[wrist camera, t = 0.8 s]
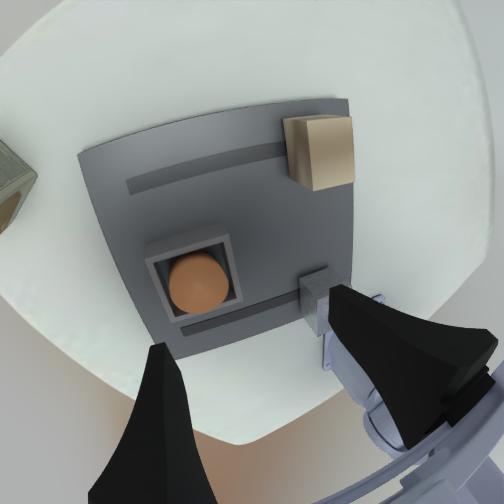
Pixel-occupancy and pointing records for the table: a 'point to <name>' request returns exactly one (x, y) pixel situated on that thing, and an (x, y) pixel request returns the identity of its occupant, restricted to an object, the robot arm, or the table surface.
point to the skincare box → (12, 185)
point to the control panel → (218, 219)
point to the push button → (197, 282)
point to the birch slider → (320, 150)
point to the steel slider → (318, 298)
